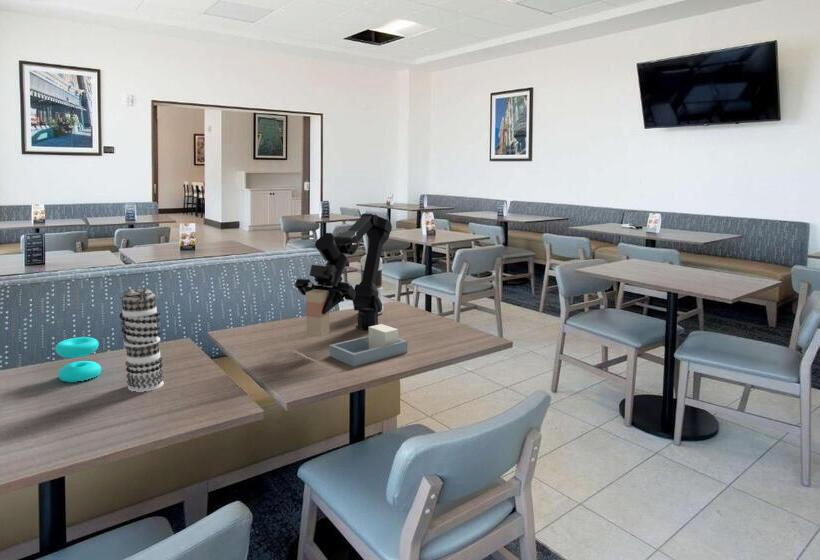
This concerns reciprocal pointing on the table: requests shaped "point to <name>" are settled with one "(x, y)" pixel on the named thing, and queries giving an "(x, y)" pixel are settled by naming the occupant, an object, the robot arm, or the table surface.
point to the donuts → (81, 368)
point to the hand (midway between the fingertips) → (315, 312)
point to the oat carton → (316, 313)
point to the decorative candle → (141, 340)
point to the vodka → (378, 280)
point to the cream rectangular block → (382, 336)
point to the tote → (364, 351)
